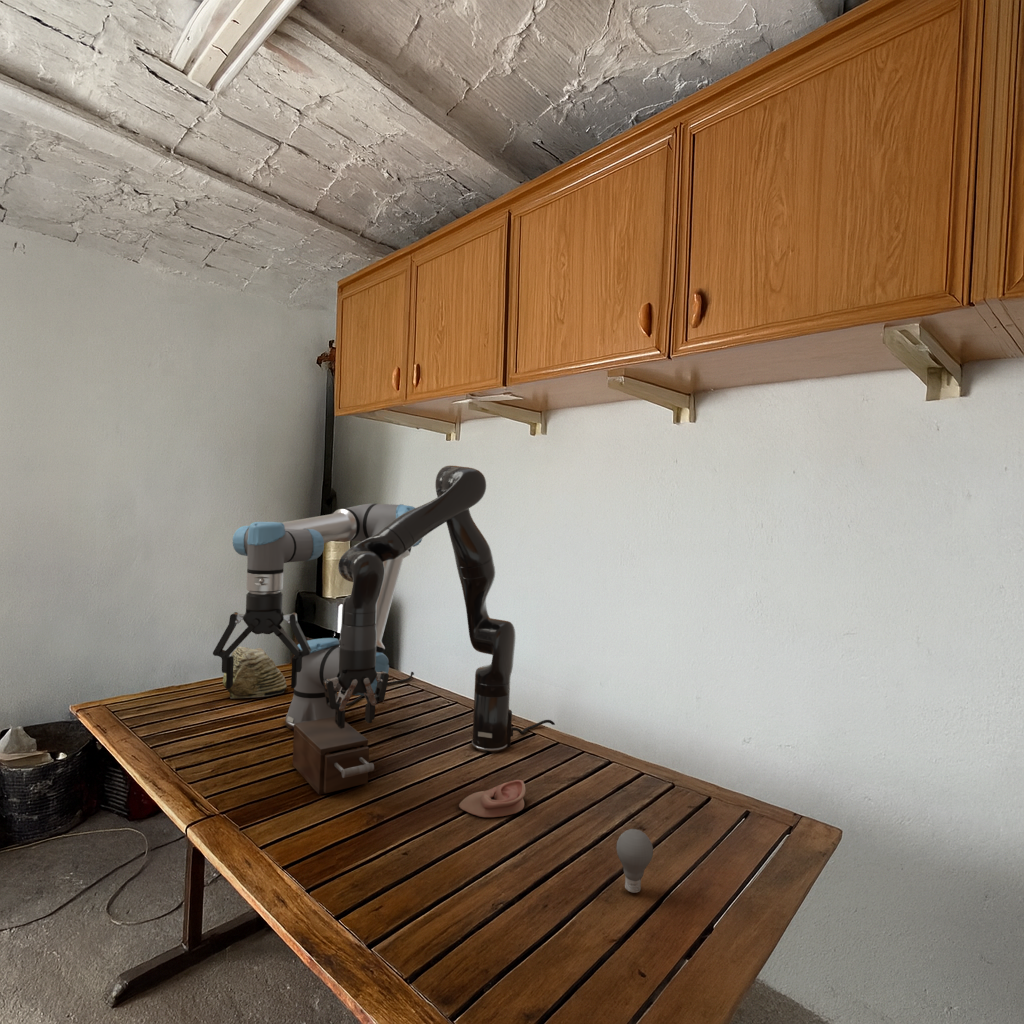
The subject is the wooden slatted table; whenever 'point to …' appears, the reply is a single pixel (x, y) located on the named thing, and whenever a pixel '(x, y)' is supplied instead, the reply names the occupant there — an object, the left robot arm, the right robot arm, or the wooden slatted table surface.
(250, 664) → the fossil
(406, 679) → the left robot arm
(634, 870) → the light bulb
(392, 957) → the wooden slatted table surface
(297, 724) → the cabinet
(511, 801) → the anatomical model
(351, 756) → the drawer
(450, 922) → the wooden slatted table surface
